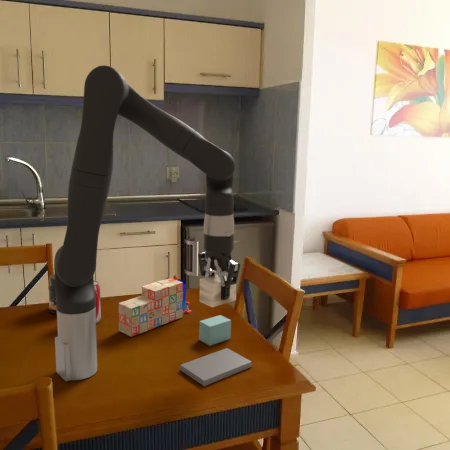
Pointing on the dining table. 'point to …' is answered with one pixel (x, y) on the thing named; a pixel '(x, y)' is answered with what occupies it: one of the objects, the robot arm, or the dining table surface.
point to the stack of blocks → (152, 307)
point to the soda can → (97, 301)
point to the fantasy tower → (184, 297)
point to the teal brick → (214, 330)
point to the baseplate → (215, 366)
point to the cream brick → (214, 291)
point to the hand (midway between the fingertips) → (217, 296)
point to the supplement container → (52, 295)
